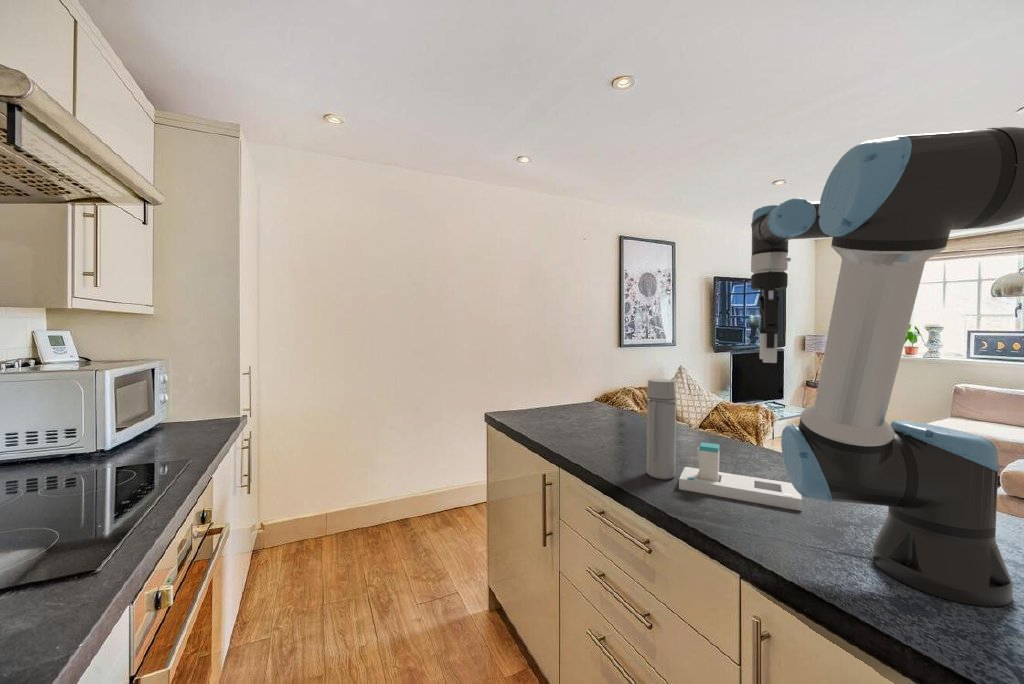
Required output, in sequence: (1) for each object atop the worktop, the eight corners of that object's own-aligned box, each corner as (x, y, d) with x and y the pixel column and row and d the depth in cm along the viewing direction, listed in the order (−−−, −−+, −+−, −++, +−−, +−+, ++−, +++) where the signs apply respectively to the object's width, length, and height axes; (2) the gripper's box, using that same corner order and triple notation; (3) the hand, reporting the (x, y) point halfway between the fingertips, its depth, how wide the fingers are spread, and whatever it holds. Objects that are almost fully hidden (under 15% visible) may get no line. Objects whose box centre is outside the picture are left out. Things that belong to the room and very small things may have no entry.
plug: (717, 491, 98) (718, 448, 97) (696, 487, 100) (696, 445, 100) (718, 485, 101) (719, 444, 101) (698, 482, 103) (698, 441, 103)
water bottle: (653, 468, 115) (654, 378, 114) (681, 475, 109) (682, 380, 109) (636, 477, 108) (637, 380, 108) (665, 485, 103) (666, 383, 102)
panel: (801, 513, 87) (802, 498, 87) (678, 491, 99) (679, 478, 99) (797, 497, 96) (797, 483, 96) (684, 478, 108) (685, 466, 108)
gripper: (794, 264, 88) (792, 365, 89) (782, 277, 110) (780, 358, 111) (753, 266, 92) (751, 363, 92) (749, 279, 114) (748, 357, 114)
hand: (767, 360), depth 101 cm, fingers open, 13 cm apart
